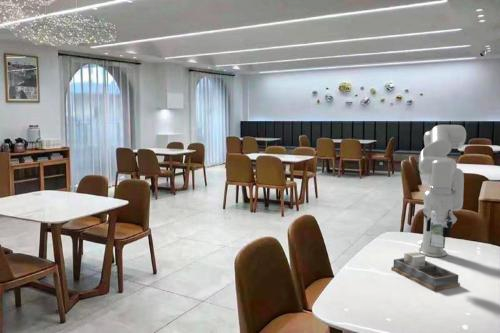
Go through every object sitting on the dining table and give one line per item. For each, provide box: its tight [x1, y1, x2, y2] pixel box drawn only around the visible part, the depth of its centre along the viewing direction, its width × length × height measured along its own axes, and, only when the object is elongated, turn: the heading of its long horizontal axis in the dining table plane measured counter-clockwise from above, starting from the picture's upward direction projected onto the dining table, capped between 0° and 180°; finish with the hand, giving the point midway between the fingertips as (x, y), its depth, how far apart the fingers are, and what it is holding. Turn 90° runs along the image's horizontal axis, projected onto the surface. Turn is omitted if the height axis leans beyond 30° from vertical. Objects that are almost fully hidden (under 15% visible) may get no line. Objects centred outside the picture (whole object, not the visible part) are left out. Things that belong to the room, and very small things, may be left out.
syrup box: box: [429, 211, 446, 249], centre depth 178 cm, size 6×6×14 cm
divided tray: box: [391, 251, 461, 292], centre depth 186 cm, size 25×14×8 cm, turn 22°
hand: (437, 233), depth 178 cm, fingers closed on syrup box, 8 cm apart
